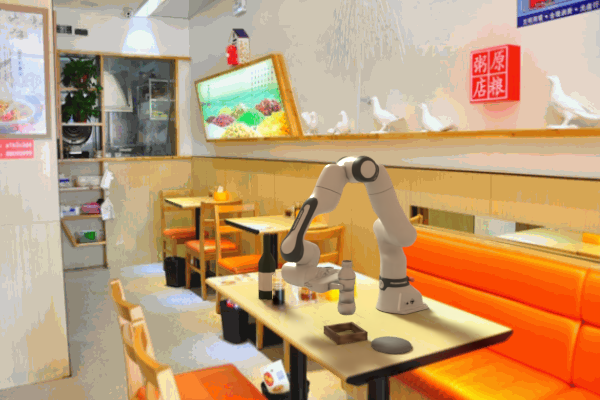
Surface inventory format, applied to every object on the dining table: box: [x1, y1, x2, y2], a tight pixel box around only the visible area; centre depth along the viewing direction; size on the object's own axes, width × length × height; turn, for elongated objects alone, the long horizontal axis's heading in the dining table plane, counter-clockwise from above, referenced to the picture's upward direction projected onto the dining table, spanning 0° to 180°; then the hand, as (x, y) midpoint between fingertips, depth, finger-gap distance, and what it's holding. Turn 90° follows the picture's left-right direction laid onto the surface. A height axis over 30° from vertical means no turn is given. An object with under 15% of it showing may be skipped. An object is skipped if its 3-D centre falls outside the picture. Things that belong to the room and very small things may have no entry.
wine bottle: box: [257, 232, 276, 301], centre depth 245 cm, size 8×8×30 cm
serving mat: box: [370, 335, 413, 355], centre depth 189 cm, size 14×14×1 cm
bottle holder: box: [323, 321, 369, 346], centre depth 198 cm, size 12×12×3 cm
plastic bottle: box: [337, 259, 357, 316], centre depth 196 cm, size 6×7×20 cm
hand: (348, 285), depth 195 cm, fingers closed on plastic bottle, 6 cm apart
